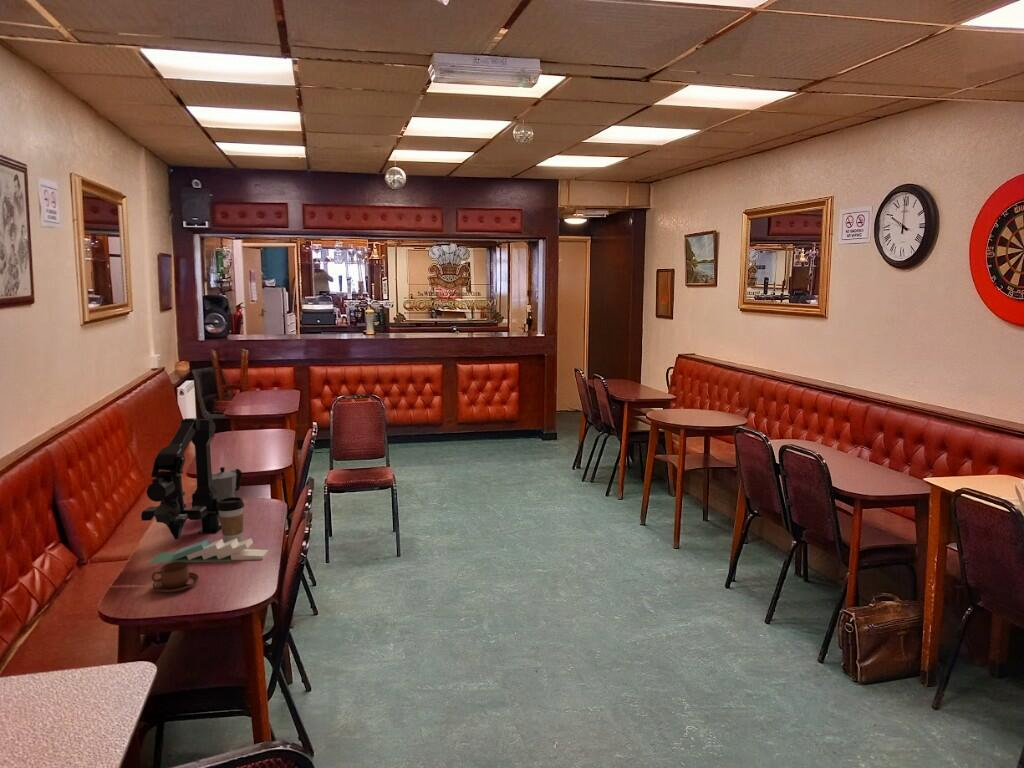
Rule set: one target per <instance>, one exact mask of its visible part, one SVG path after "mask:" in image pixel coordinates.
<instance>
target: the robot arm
mask: <svg viewBox="0 0 1024 768" xmlns="http://www.w3.org/2000/svg"><path fill="white" fill-rule="evenodd" d="M216 426H217V425H216V423H215V422H214V421H213V420H212V419H211V418H194V417H191V418H183V419H182V420H181V421H180V426H179V428H178V430H177V431H176V432H175V435H174V436H173V438H172V440H171V442H170V443H169V444H168V445H167V446H165V447H162V448H161V450H160V451H159V452H158V453H157V455H156V456H155V458H154V462H153V465H152V466H153V467H152V471H151V475H150V476H151V478H153V479H151V480H152V481H151V482H152V483H151V484H150V485H148V487H147V489H146V496H147V497H148V499H149V500H150V501H152V502H155V503H156V502H160V503H159V505H158V506H148V507H147V508H146V509H143V510H142V511H141V513H140V521H142V522H143V521H145V522H146V521H152V520H153V518H155V521H156V523H161V524H162V523H163V524H165V525H166V526H167V528H168V529H169V531H170V533H171V535H172V536H173V538H174V540H176V541H177V540H178V541H179V539H180V537H181V533H182V531H183V528H184V525H185V523H186V522H187V520H188V519H189V520H190V521H200V524H201V529H200V530H199V531H197V533H198V534H217V533H219V531H220V530H222V529H221V524H220V519H219V517H218V515H219V510H217V506H218V501H220V499H219V497H218V492H217V490H216V489H215V488H214V487H213V485H212V475H213V474H212V473H213V471H212V470H213V469H212V454H211V443H212V441H213V439H214V437H215V435H216V434H215V432H216ZM190 443H192V444H193V446H194V452H195V453H194V455H195V470H196V471H195V472H196V485H197V488H196V489H195V491H194V492H193V493H192V495H191V499H192V500H191V508H190V509H186V508H187V504H186V503H185V500H184V496H186V493H185V491H184V490H183V481H182V474H183V473H184V470H183V468H184V465H185V461H186V457H185V451H186V450H187V448H188V446H190V445H189V444H190Z"/></svg>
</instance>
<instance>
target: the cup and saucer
mask: <svg viewBox="0 0 1024 768" xmlns="http://www.w3.org/2000/svg"><path fill="white" fill-rule="evenodd" d="M155 575H160V577H159V578H155ZM150 578H151V580H152V581H153V583H152V587H153V590H156V591H157V592H160V593H176V592H177V593H178V592H180V591H184V590H187V589H189V588H191V587H193V586H194V585H195V584H196V583H197V582H198V581H199V575H198V574H197V573H194V572H192V571H189V562H168V563H167V564H164V565H162V566H161V567H160V568H159V571H154V572H152V573H151V577H150ZM189 579H191V580H192V581H193V582H192V583H188V582H189Z"/></svg>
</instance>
